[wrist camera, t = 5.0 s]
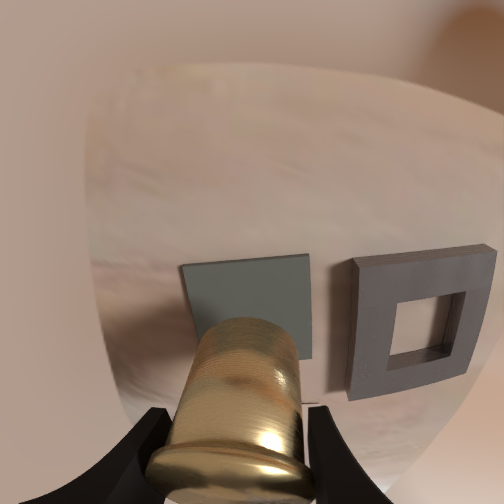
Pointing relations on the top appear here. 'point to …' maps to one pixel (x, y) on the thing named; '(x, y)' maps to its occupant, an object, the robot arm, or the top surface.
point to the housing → (408, 289)
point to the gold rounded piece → (238, 422)
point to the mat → (254, 294)
